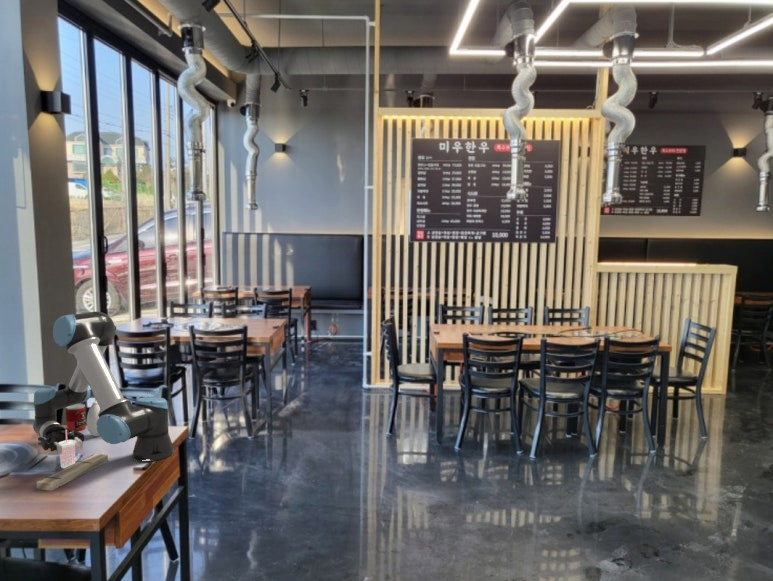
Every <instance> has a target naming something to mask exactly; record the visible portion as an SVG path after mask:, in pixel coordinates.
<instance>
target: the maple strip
mask: <svg viewBox="0 0 773 581" xmlns="http://www.w3.org/2000/svg"><path fill="white" fill-rule="evenodd" d="M107 461H108V462H109V457H108V454H102V453H101V454H100V453H93V454H91V455H89V456H87V457H85V458H82V459H81V460H79V461H77V462H75V464H73V465H71V466H69V467H66V468H62V469H61V470H60V469H59V471H56V472H54V473H52V474H50V475H48V476H45V477H44V478H42V479H39V480H38V481H36V489H37V490H42V491H50V492H51V491H53V490H56V489H57V488H60V487H62V486H63V485H65V484H66V483H69V482H71V481H73V480H75V479H77V478H78V477H81V476H83V475H84V474H86V473H89V472H90V471H92V470H94V469H96V468H98V467H100V466H102V465H104V464H106V463H108V462H107ZM105 462H106V463H105ZM103 463H104V464H103ZM59 486H60V487H59Z"/></svg>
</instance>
